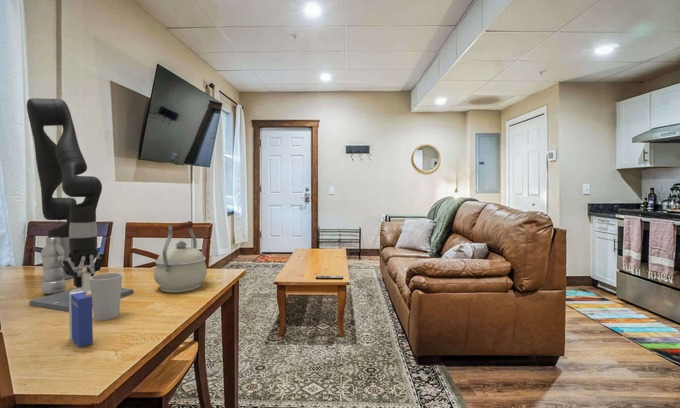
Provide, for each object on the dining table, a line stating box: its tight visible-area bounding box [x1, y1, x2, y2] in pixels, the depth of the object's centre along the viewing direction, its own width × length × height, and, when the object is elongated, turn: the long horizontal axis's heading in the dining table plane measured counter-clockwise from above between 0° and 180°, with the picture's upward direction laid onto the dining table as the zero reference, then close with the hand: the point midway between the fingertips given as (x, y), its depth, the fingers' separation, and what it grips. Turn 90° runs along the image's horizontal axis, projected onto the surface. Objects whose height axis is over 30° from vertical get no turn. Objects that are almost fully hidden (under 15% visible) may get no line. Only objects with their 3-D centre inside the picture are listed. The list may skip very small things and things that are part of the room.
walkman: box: [68, 291, 94, 348], centre depth 83 cm, size 8×3×12 cm, turn 52°
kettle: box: [153, 220, 208, 294], centre depth 130 cm, size 25×18×25 cm
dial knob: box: [69, 269, 91, 296], centre depth 112 cm, size 12×8×8 cm, turn 51°
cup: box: [89, 272, 123, 321], centre depth 99 cm, size 8×8×12 cm
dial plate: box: [29, 287, 135, 313], centre depth 114 cm, size 20×20×2 cm
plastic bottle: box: [40, 236, 67, 295], centre depth 119 cm, size 6×7×20 cm
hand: (84, 285), depth 114 cm, fingers closed on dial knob, 3 cm apart
